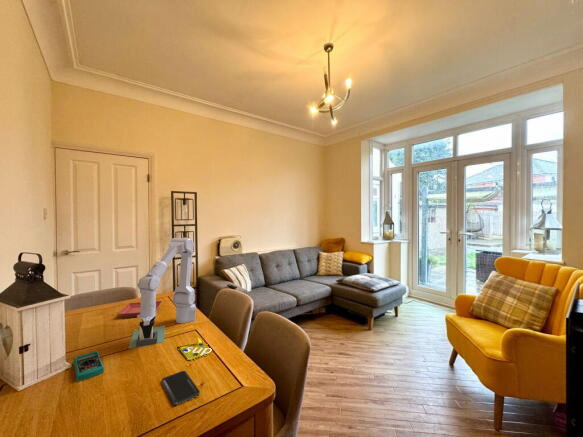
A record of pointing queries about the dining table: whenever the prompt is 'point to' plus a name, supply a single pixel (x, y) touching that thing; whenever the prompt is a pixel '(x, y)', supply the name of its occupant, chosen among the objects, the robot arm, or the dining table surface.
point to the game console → (194, 350)
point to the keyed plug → (143, 336)
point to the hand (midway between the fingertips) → (147, 335)
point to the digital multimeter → (88, 365)
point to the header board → (157, 338)
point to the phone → (180, 387)
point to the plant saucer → (134, 309)
